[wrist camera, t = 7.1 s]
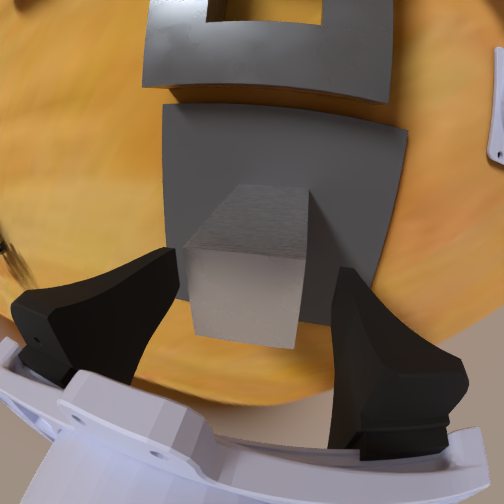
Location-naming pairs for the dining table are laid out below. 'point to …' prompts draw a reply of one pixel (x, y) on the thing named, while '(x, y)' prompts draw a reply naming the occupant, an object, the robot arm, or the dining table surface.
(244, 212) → the steel peg
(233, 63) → the socket block
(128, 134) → the dining table surface
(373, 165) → the rubber mat
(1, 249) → the valve
